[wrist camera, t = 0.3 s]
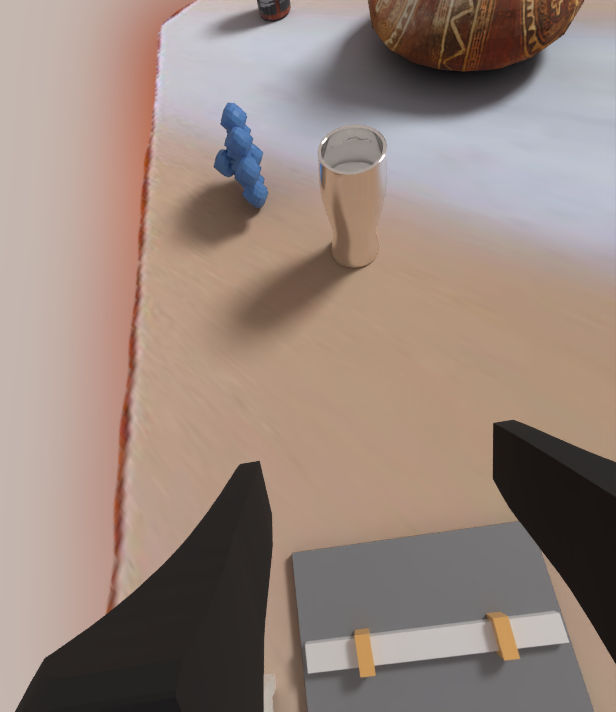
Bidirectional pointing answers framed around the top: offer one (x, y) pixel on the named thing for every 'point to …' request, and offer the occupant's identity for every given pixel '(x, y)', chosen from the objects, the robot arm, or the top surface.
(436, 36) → the jug
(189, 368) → the top surface
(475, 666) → the mounting board
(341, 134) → the beer glass
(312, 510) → the top surface
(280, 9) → the supplement bottle
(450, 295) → the top surface
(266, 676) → the block
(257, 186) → the grapes
